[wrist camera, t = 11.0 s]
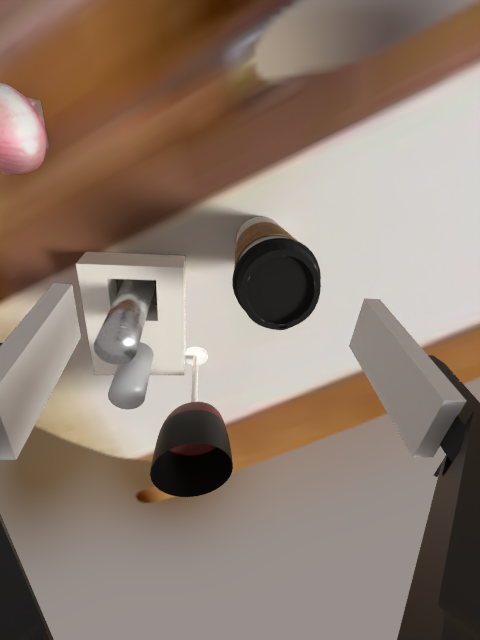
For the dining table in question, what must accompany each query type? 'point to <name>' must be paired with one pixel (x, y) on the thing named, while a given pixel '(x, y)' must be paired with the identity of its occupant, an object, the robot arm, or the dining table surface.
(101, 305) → the socket block
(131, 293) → the pipe
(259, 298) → the coffee cup
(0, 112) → the red onion
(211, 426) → the wineglass
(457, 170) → the dining table surface
